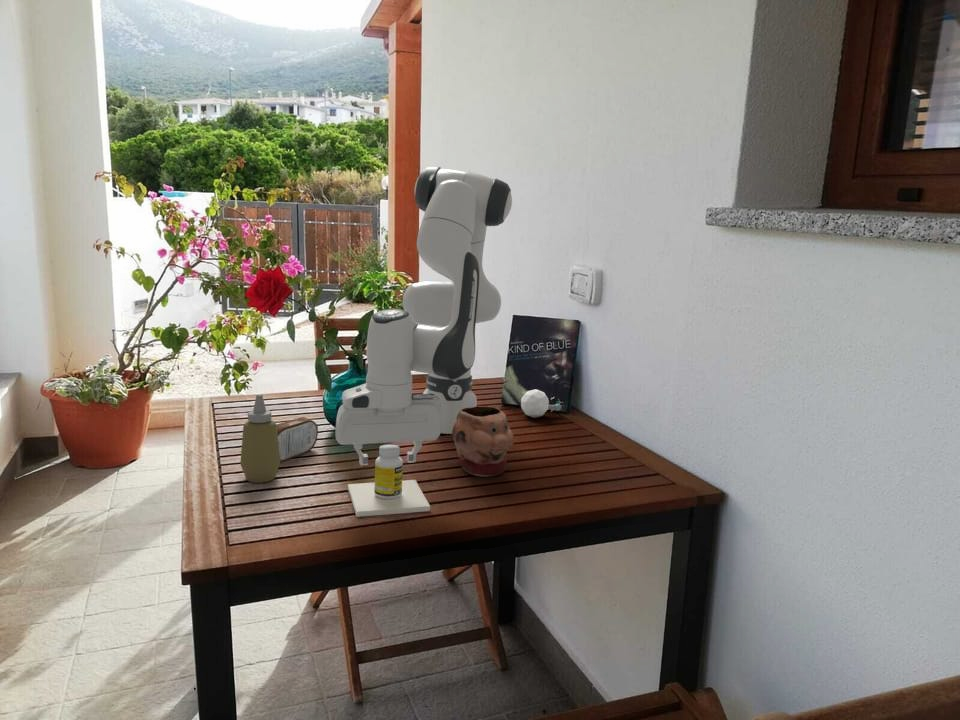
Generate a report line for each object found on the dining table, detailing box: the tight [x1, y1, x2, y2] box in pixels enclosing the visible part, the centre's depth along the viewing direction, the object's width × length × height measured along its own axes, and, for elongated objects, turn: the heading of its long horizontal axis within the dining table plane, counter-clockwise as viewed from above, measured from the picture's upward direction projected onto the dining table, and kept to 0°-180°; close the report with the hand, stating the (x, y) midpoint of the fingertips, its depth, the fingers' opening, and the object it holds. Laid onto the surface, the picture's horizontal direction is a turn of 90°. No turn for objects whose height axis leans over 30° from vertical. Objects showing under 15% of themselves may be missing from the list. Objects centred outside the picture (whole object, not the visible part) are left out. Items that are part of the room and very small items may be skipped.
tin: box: [276, 416, 319, 462], centre depth 163 cm, size 15×3×8 cm, turn 150°
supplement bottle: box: [374, 444, 404, 499], centre depth 141 cm, size 5×5×10 cm
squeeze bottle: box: [239, 394, 281, 484], centre depth 148 cm, size 8×8×18 cm
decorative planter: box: [451, 405, 515, 477], centre depth 160 cm, size 20×12×14 cm, turn 37°
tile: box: [347, 479, 431, 518], centre depth 142 cm, size 14×14×1 cm
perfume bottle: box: [520, 388, 562, 419], centre depth 206 cm, size 8×8×12 cm
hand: (387, 462), depth 141 cm, fingers open, 8 cm apart
